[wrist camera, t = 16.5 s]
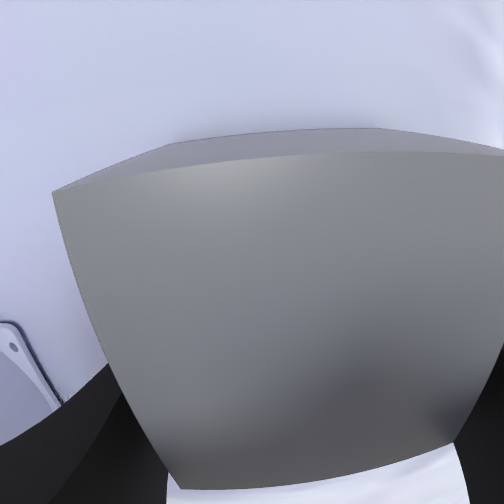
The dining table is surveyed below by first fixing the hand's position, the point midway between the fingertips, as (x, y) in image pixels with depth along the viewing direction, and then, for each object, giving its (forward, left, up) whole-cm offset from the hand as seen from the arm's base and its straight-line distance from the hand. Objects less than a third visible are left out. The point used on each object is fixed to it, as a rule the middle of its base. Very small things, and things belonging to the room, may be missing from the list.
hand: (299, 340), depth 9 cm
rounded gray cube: (+2, 0, -2) cm, 3 cm away
